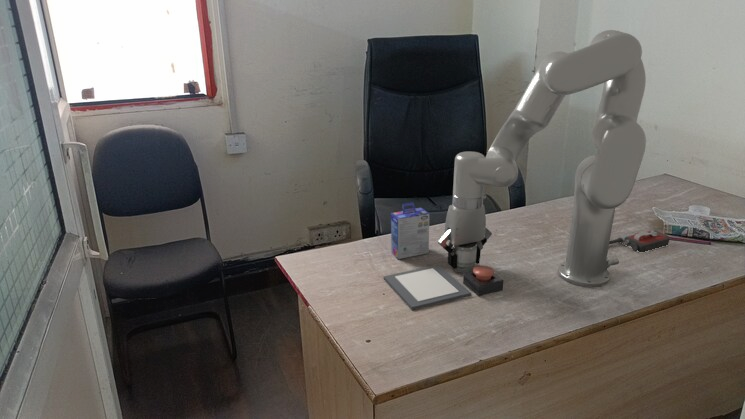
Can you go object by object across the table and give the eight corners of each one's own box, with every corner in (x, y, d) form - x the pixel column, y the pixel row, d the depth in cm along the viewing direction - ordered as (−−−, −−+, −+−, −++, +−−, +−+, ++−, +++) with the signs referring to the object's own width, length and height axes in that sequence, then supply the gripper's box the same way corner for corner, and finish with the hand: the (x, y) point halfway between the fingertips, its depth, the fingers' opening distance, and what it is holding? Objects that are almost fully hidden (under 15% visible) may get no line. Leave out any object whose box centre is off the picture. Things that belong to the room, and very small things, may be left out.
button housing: (486, 277, 138) (487, 267, 137) (502, 290, 132) (503, 279, 131) (463, 283, 135) (463, 272, 134) (478, 296, 129) (479, 285, 128)
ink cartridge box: (420, 245, 156) (422, 199, 150) (429, 253, 151) (431, 205, 146) (389, 251, 152) (389, 204, 147) (398, 260, 148) (398, 211, 142)
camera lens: (447, 265, 144) (448, 238, 142) (467, 260, 147) (468, 234, 144) (459, 275, 139) (461, 248, 136) (480, 270, 141) (482, 243, 138)
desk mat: (438, 267, 143) (438, 263, 143) (471, 295, 130) (471, 292, 129) (383, 279, 138) (383, 275, 137) (411, 310, 124) (411, 306, 124)
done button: (486, 273, 136) (486, 264, 135) (498, 282, 132) (499, 273, 131) (468, 277, 134) (469, 268, 133) (480, 286, 130) (480, 277, 129)
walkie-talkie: (646, 235, 162) (597, 247, 155) (649, 221, 161) (599, 233, 153) (672, 246, 155) (621, 260, 147) (675, 232, 153) (624, 245, 146)
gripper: (487, 191, 142) (483, 252, 149) (430, 201, 136) (428, 264, 143) (504, 200, 136) (499, 264, 142) (445, 211, 130) (442, 276, 136)
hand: (463, 263), depth 142 cm, fingers closed on camera lens, 6 cm apart
